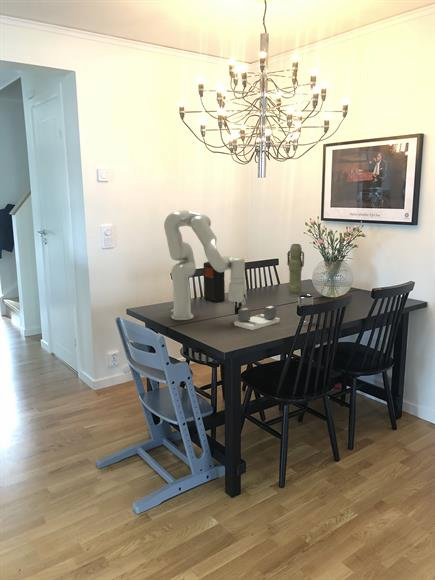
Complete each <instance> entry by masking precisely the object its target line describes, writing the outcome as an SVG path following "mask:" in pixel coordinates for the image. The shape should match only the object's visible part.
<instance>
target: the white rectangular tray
mask: <svg viewBox="0 0 435 580" xmlns="http://www.w3.org/2000/svg"><path fill="white" fill-rule="evenodd" d="M280 319H281V318H280V317H276V318H274V319H270V320H269V319H265V318H264V314H262V313H261V314H257V315H253V316H250V320H248V321H245V322H243V321H239V320H238V319H237V320H235V321H234V323H233V324H234V325H233V326H236V327H239V328H243V329H247V330H250V331H254V330H258V329H260V328H261V329H262V328H264V327H267V326H271V325H274V324H277V323H280Z"/></svg>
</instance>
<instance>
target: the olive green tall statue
mask: <svg viewBox="0 0 435 580" xmlns="http://www.w3.org/2000/svg"><path fill="white" fill-rule="evenodd" d="M302 250H303V249H302V245H301V244H300V243H293V244H291V246H290V249H289V251H288V252H286V253H287V265H288V270H289V283H288V295H289V294H290V295H300V294H301V295H302V290H303V289H302V270H303V267H304V265H305V252H304V251H302ZM290 295H289V296H290Z"/></svg>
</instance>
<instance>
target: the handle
mask: <svg viewBox="0 0 435 580" xmlns="http://www.w3.org/2000/svg"><path fill="white" fill-rule="evenodd" d="M263 309H264V312H263V313H264V314H263V315H264V318H265V319H269V320H270V319H274V318H277V307H276V306H273V305H269V306H265V307H264V308H263Z"/></svg>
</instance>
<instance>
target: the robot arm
mask: <svg viewBox="0 0 435 580" xmlns="http://www.w3.org/2000/svg"><path fill="white" fill-rule="evenodd" d="M211 225H212V222H211V219H210V217H209V216H207V215H205V214H201V213H197V212H194V211H190V210H176V211H173V212H171V213H169V214H168V215H167V216H166V218H165V220H164V225H163V228H164V232H165V236H166V243H167V247H168V252H169V255H170V259H171V260H173V261H178V262H177V263H175V264H174V265H173V266H172V268H171V270H170V272H171V273H170V275H171V278H172V289H173V291H172V293H173V295H172V296H173V308H172V309H171V310H170V312H172V313H173V314H171V316H170V317H171V319H172V320H174V321H188V320H192V319H194V314H193V313H192V312H191V311H192V310H191V284H190V283H191V282H190V280H189V278H190V277H193V276H194V275H195V273H196V269H197V268H196V261H195V255H194V251H193V248H192V246H191V245H190V243H188V242H186V241H183V236H182V233H181V231H180V227H190V228H191V230H192V231H193V232H194V234H195V235H196V237H197V239H198V240H199V242H200V243H201V245H202V246H203V251H204V254H205V257H206V259H207V262H209V263H210V264H211V266H212V267H213V268H214V269H215V270H216V271H217V272H224V273H225V271H228V270H230V277H229V280H230V281H229V284H228V290H227V291H228V293H227V294H228V295H227V299H228V300H229V302H230V303H232V305H233V307H234V315H238V309H242V307H243V305H244V306H245V305H246V304H247V303H246V302H247V298H248V297H247V286H246V285H247V284H246V283H245V282H246V281H245V278H246V277H245V276H246V275H245V269H246V268H245V265H246V264H245V262H246V261H245V258H244V257H240V256H239V257H237V256H234V257H233V256H229V255H224V256H221V254H220V252H219V250H218V247H217V242H218V240H217V236H216V234H215V233H214V232H213V230H212V228H211Z"/></svg>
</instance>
